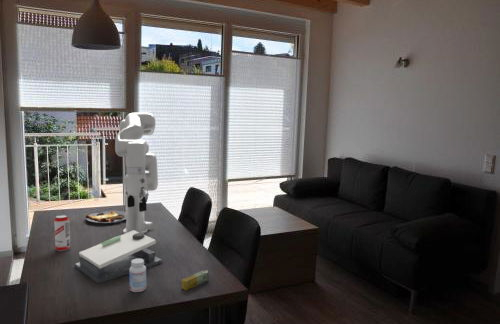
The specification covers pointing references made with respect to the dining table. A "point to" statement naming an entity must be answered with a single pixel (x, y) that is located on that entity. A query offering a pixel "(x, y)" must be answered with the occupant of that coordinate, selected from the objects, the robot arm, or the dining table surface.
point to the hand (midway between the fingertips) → (136, 208)
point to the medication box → (194, 280)
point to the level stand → (117, 266)
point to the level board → (116, 248)
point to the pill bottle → (137, 275)
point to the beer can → (62, 233)
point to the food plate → (106, 217)
